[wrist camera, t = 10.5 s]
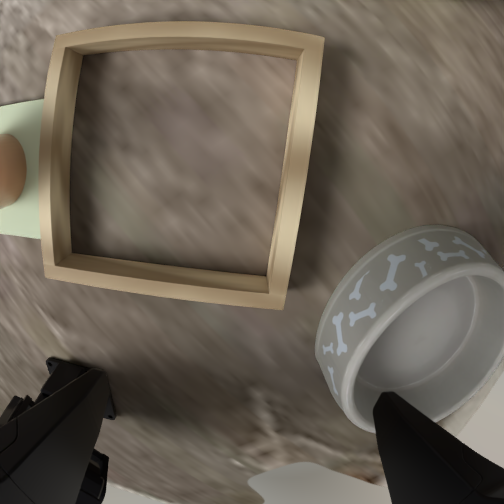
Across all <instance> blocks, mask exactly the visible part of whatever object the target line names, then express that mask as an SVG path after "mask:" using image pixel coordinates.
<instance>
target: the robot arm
mask: <svg viewBox="0 0 504 504" xmlns="http://www.w3.org/2000/svg"><path fill="white" fill-rule="evenodd" d="M46 365H47V368H48V371H49V374H50V376H49V378H48V379H47V381H46V382H45V384H44V385H43V387H42V388H41V393H40V394H39V396H38V397H37V399H36V400H35V402H34V401H32V398H30V397H29V396H28V395H26V397H25V398H24V399H23V398H20V397H18V396H14V397H13V399H12V400H11V401H10V403H9V404H8V406H7V407H6V409H5V410H4V412H3V414H2V415H1V417H0V504H101V503H102V501H103V499H104V497H105V493H106V484H107V472H108V462H109V457H108V456H106V455H105V454H102V453H100V452H99V451H97V450H96V449H94V446H95V444H96V441H97V438H98V435H99V432H100V429H101V425H102V420H103V418H106V419H110V420H115V418H116V413H115V409H114V405H113V401H112V397H111V392H110V388H109V384H108V379H107V376H106V372H105V371H104V370H100V369H96V368H93V369H89V368H85V367H81V366H78V365H74V364H70V363H67V362H63V361H60V360H57V359H53V358H48V359H47V360H46ZM373 419H374V425H375V431H376V438H377V444H378V450H379V454H380V458H381V461H382V465H383V469H384V473H385V477H386V481H387V485H388V489H389V493H390V497H391V501H392V504H504V469H503V468H502V467H500V466H498V465H496V464H495V463H493V462H491V461H489V460H488V459H486V458H484V457H483V456H481V455H480V454H478V453H477V452H475V451H474V450H472V449H471V448H469V447H468V446H467V445H465V444H463V443H462V442H461V441H459V440H458V439H457V438H456V437H454V436H453V435H451V434H450V433H449V432H447V431H446V430H445V429H443V428H442V427H441V426H439V425H438V424H437V423H435V422H434V421H433V420H431V419H430V418H428V417H427V416H426V415H424V414H423V413H422V412H420V411H419V410H418V409H416V408H415V407H414V406H412V405H411V404H410V403H408V402H407V401H406V400H405V399H403V398H402V397H401V396H399V395H398V394H397V393H395V392H394V391H384V392H382V393H381V394H380V396H379V398H378V400H377V402H376V404H375V405H374V407H373Z"/></svg>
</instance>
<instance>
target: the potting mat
mask: <svg viewBox="0 0 504 504" xmlns="http://www.w3.org/2000/svg"><path fill="white" fill-rule="evenodd" d="M43 103H44V99H40V100H34V101H27V102H22V103H16V104H11V105H6V106H1V107H0V134H10V135H12V136H14V137H15V138H16V139H17V140H18V141H19V142H20V144H21V146H22V148H23V150H24V153H25V157H26V165H27V172H26V180H25V185H24V188H23V191H22V193H21V195H20V196H19V198H18V199H17V200H16V201H15V202H14V203H13V204H11V205H9V206H7V207H4V208H2V209H0V234H7V235H15V236H22V237H30V238H38V239H41V235H40V220H39V193H38V172H39V145H40V131H41V120H42V111H43Z"/></svg>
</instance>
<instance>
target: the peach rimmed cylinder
mask: <svg viewBox="0 0 504 504" xmlns="http://www.w3.org/2000/svg"><path fill="white" fill-rule="evenodd" d="M26 172H27V165H26V157H25V153H24V150H23V148H22V146H21V144H20V142H19V141H18V140H17V139H16V138H15V137H14V136H12V135H10V134H0V209H2V208H4V207H7V206H9V205H11V204H13V203H14V202H15V201H16V200H17V199H18V198H19V196H20V195H21V193H22V191H23V188H24V185H25V180H26Z"/></svg>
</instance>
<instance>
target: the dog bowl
mask: <svg viewBox="0 0 504 504" xmlns="http://www.w3.org/2000/svg"><path fill="white" fill-rule="evenodd" d="M315 357H316V359H317V361H318V363H319V365H320V368H321V370H322V372H323V375H324V377H325V380H326V382H327V385H328V387H329V389H330V392H331V394H332V396H333V397H334V399H335V401H336V402H337V404H338V405H339V406H340V408H341V409H342V410H343V411H344V413H345V414H346V416H347V417H348V418H349V419H350V421H351V422H352V423H353V424H355V425H356V426H358V427H359V428H361V429H363V430H365V431H368V432H372V433H376V431H375V425H374V419H373V407H374V405H375V404H376V402H377V400H378V398H379V396H380V394H381V393H382V392H384V391H394V392H395V393H397V394H398V395H399V396H401V397H402V398H403V399H405V400H406V401H407V402H408V403H410V404H411V405H412V406H414V407H415V408H416V409H418V410H419V411H420V412H422V413H423V414H424V415H426V416H427V417H428V418H430V419H431V420H433V421H434V422H437V421H439V420H441V419H443V418H445V417H446V416H448V415H450V414H451V413H453V412H454V411H456V410H457V409H459V408H460V407H461V406H463V405H464V404H465V403H466V402H467V401H469V400H470V399H471V398H472V397H473V396H474V395H475V394H476V393H477V392H478V391H479V390H480V389H481V388H482V387H483V386H484V385H485V383H486V382H487V381H488V380H489V378H490V377H491V376H492V375H493V373H494V372H495V370H496V369H497V367H498V366H499V364H500V363H501V361H502V359H503V357H504V271H503V270H502V269H501V267H500V266H499V265H498V264H497V263H496V262H495V261H494V260H493V258H492V257H491V256H490V254H489V253H488V252H487V251H486V250H485V249H484V247H483V246H482V245H481V244H480V243H479V242H478V241H477V240H476V239H475V238H474V237H473V236H471V235H470V234H468V233H467V232H465V231H462V230H460V229H457V228H454V227H451V226H445V225H424V226H419V227H414V228H411V229H408V230H405V231H403V232H400V233H398V234H396V235H394V236H392V237H390V238H388V239H386V240H385V241H383V242H381V243H380V244H378V245H377V246H376V247H374V248H373V249H372V250H370V251H369V252H368V253H367V254H365V255H364V256H363V257H362V258H361V259H360V260H359V261H358V262H357V263H356V264H355V265H354V266H353V267H352V268H351V269H350V270H349V271H348V273H347V274H346V275H345V276H344V278H343V279H342V280H341V282H340V283H339V284H338V286H337V287H336V289H335V291H334V292H333V294H332V296H331V297H330V299H329V301H328V303H327V305H326V307H325V309H324V312H323V314H322V317H321V320H320V323H319V326H318V330H317V335H316V341H315Z"/></svg>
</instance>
